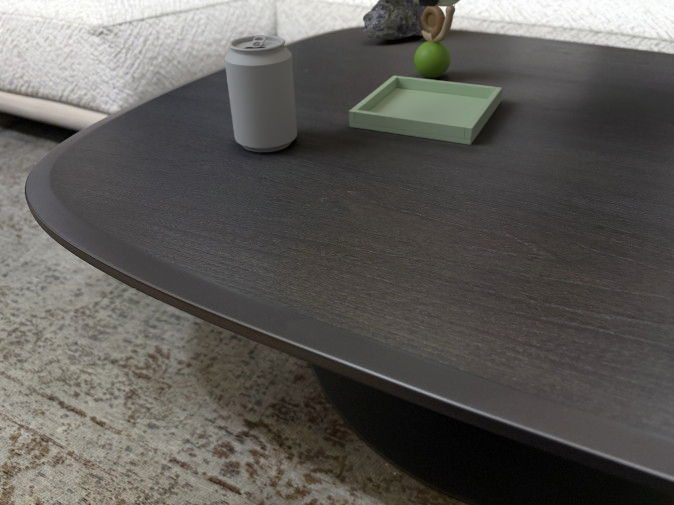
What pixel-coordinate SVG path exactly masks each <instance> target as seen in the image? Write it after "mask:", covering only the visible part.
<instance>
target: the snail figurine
mask: <svg viewBox="0 0 674 505" xmlns="http://www.w3.org/2000/svg"><path fill="white" fill-rule="evenodd" d="M455 6H456V4H454V5H451V6H446V7H445V13H444V11H443V10H442V8H441V6H434V7H432V6H428V7H426V9H425V10H424V12H423V15H422V24H423V27H424V29H425V30H426V31H424V30H422V35H423V36H422V37H423V39H424V40H426V41H424V42H423V43H421V44H420V45H419V46H418V47H417V49H416V51H415V52H414V58H413V63H414V67H415V69H416V72H418V74H420V75H421V76H423V77H424V78H426V79H436V78H439V77H441V76H443V75H444V74H445V73H446V72H447V70H448V69H449V68H450V65H451V61H452V60H451V58H452V57H451V51H450V50H449V48H448V47H447V45H446V44H445V43H443V41H445V40H446V39H447V37H448V36H449V34H450V32H451V28H452V25H453V21H454V15H455V12H456V7H455Z"/></svg>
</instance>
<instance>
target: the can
mask: <svg viewBox="0 0 674 505" xmlns="http://www.w3.org/2000/svg"><path fill="white" fill-rule="evenodd" d="M285 44H286V40H285V39H284V38H283V37H281V36H276V35H270V34H269V35H268V34H263V35H262V34H259V35H257V34H256V35H248V36H242V37H238V38H235V39H233V40H231V41H229V43H228V47H229V50H228V52H227V53H226V55H225V57H224V66H225V74H226V82H227V90H228V98H229V105H230V112H231V120H232V128H233V135H234V140H235V142H236V143H237V144H238V145H240V146H242V147H243V148H244V149H245V150H246V151H251V152H253V153H254V152H255V153H272V152H277V151H280V150H283V149H285V148H287V147H289V146H290V145H291V144H292V142H293V141H295V139H296V138H297V137H298V124H297V110H296V109H297V108H296V95H295V94H296V93H295V82H294V81H295V80H294V67H293V66H294V65H293V53H292V52H291V51H290V50H289V49H288V48H287V47H286V46H285Z"/></svg>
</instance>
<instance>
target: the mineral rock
mask: <svg viewBox="0 0 674 505" xmlns="http://www.w3.org/2000/svg"><path fill="white" fill-rule="evenodd" d="M426 7H428V6H421V5H420V4H418V3H416V2H414V1H413V0H378V1H377V2H376V3H375V4H374V5H373V7H372V8H371V9H370V10H369V11H367V12H366V13H365V14H364V15H363V16H362V21H363V22H364V25H363V26H364V27H363V31H362V32H363V33H364V35H365V36H366V37H367V38H369V39H378V40H393V41H397V40H402V39H404V38H407V37H416V36H417V37H423V35H422V30H424V31H426V30H425V29H424V27H423V24H422V15H423V12H424V10H425V9H426Z"/></svg>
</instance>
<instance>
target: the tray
mask: <svg viewBox="0 0 674 505" xmlns="http://www.w3.org/2000/svg"><path fill="white" fill-rule="evenodd" d="M502 92H503V87H499V86H491V85H482V84H475V83H474V84H473V83H465V82H457V81H446V80H437V79H431V78H421V77H411V76H403V75H395V74H394V75H392V76H391V77H390V78H388V79H387V80H386V81H385V82H383V83H382V84H381V85H379V87H377V88H376V89H374V90H373V91H372V92H371V93H370V94H369V95H367V96H366V97H364V99H362V100H361V101H359V103H357V104H356V105H355V106H353V107H352V108H351V109H350V110H348V123H349V125H348V127H349V128H356V129H361V130H369V131H375V132H382V133H389V134H396V135H401V136H408V137H409V136H410V137H416V138H421V139H429V140H435V141H442V142H449V143H455V144H461V145H469V146H471V145H472V143H473V142H474V141H475V139H476V138H477V136H479V134H480V132H481V131H482V130H483V128H484V127H485V125H486V124H487V123H488V121H489V119H490V118H491V117H492V115H493V114H494V112H495V111H496V109H497V108H498V107H499V105H500V103H501V102H502V94H503V93H502Z"/></svg>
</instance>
